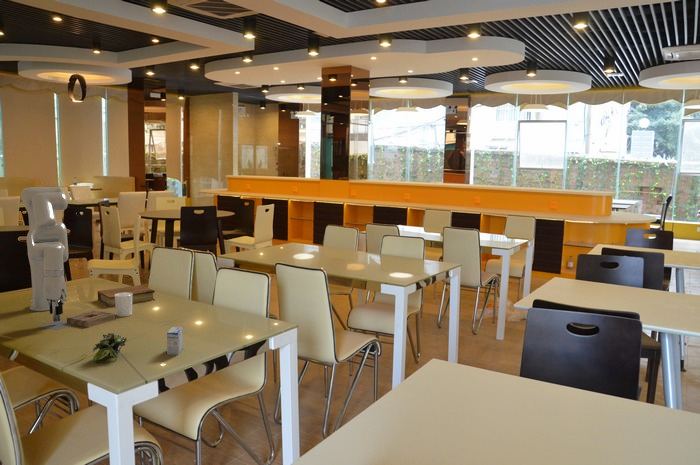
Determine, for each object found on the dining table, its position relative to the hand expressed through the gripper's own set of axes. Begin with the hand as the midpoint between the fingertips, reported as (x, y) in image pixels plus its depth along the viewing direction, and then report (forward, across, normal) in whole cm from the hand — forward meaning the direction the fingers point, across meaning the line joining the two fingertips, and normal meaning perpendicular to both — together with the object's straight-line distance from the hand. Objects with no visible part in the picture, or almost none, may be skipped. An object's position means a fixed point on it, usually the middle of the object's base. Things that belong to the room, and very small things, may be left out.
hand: (56, 313), depth 248 cm
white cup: (+6, +12, +26) cm, 30 cm away
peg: (+3, 0, 0) cm, 3 cm away
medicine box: (+4, +71, -1) cm, 71 cm away
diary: (+7, -10, +48) cm, 49 cm away
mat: (+6, +1, 0) cm, 6 cm away
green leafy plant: (+4, +56, -19) cm, 59 cm away
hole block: (+5, +9, +10) cm, 15 cm away
